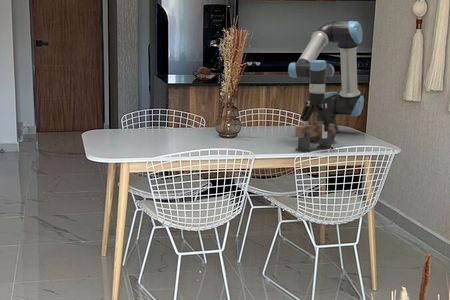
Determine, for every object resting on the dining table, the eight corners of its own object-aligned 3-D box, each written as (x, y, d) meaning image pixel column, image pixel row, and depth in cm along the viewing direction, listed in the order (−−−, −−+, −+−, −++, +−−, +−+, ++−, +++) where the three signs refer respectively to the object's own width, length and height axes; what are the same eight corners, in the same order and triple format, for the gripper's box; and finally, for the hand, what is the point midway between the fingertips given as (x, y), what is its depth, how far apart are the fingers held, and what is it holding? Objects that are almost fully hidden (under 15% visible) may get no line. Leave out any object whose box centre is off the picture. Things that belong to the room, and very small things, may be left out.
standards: (323, 146, 299) (324, 129, 297) (333, 149, 293) (334, 131, 291) (295, 150, 289) (296, 132, 287) (304, 152, 283) (305, 134, 281)
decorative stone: (322, 134, 301) (304, 120, 312) (316, 152, 307) (299, 137, 317) (345, 130, 309) (328, 116, 320) (340, 148, 315) (322, 133, 325)
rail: (329, 133, 297) (329, 123, 296) (334, 134, 294) (334, 124, 293) (295, 136, 285) (295, 126, 284) (300, 137, 282) (300, 127, 281)
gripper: (294, 90, 294) (292, 133, 298) (329, 95, 273) (326, 140, 277) (305, 90, 298) (304, 131, 302) (340, 94, 277) (338, 139, 281)
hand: (315, 136), depth 290 cm, fingers open, 13 cm apart
